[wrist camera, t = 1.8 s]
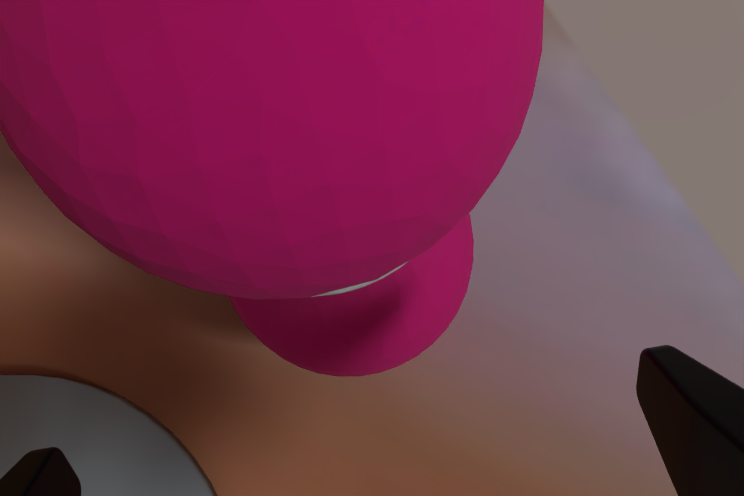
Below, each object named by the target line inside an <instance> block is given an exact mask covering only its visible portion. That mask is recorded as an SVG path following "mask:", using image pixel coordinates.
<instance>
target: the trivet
mask: <svg viewBox="0 0 744 496" xmlns="http://www.w3.org/2000/svg"><path fill="white" fill-rule="evenodd" d="M49 447H57V448H59V449H60V450H61V451H62V452H63V453H64V455H65V457H66V458H67V460H68V462H69V463H70V465H71V466H72V468H73V470H74V471H75V473H76V475H77V476H78V478H79V480H80V483H81V496H217V494H216V492H215V490H214V488H213V486H212V484H211V482H210V480H209V479H208V477H207V476H206V474H205V473H204V471H203V470H202V468H201V467H200V465H199V464H198V462H197V461H196V459H195V458H194V456H193V455H192V454H191V453H190V452H189V451H188V449H187V448H186V447H185V446H184V445H183V444H182V443H181V442H180V441H179V439H178V438H177V437H176V436H175V435H174V434H173V433H172V432H171V431H170V430H169V429H167V428H166V427H165V426H164V425H163V424H161V423H160V422H159V421H158V420H157V419H156V418H154V417H153V416H152V415H151V414H150V413H148V412H146V411H145V410H143V409H141V408H140V407H138V406H137V405H135V404H133V403H132V402H130V401H129V400H127V399H125V398H123V397H121V396H119V395H116V394H114V393H112V392H110V391H107V390H105V389H103V388H100V387H98V386H94V385H90V384H87V383H83V382H80V381H76V380H72V379H66V378H59V377H51V376H43V375H0V479H1V478H2V477H3V476H4V475H5V474H6V473H7V472H8V471H9V470H10V469H11V468H12V467H13V466H14V465H15V464H16V463H17V462H18V461H19V460H20V459H21V458H22V457H23V456H24V455H25V454H27V453H28V452H30V451H32V450H37V449H43V448H49Z"/></svg>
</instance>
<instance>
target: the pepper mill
mask: <svg viewBox="0 0 744 496" xmlns="http://www.w3.org/2000/svg"><path fill="white" fill-rule="evenodd" d="M543 6H544V0H0V130H1V132H2V134H3V136H4V137H5V139H6V141H7V143H8V145H9V147H10V148H11V150H12V151H13V152H14V154H15V155H16V156H17V158H18V159H19V160H20V162H21V163H22V164H23V166H24V167H25V168H26V170H27V171H28V172H29V174H30V175H31V176H32V178H33V179H34V180H35V181H36V183H37V184H38V185H39V187H40V188H41V189H42V190H43V192H44V193H45V194H46V195H47V196H48V197H49V198H50V199H51V201H52V202H53V203H54V204H55V205H56V206H57V207H58V208H59V210H60V211H61V212H62V213H63V214H64V215H65V216H66V217H67V218H68V219H70V220H71V221H72V222H73V223H75V224H76V225H77V226H79V227H80V228H81V229H82V230H84V231H85V232H86V233H88V234H89V235H90V236H91V237H93V238H94V239H95V240H97V241H98V242H99V243H100V244H102V245H103V246H104V247H106V248H107V249H108V250H109V251H111V252H113V253H115V254H116V255H118V256H120V257H122V258H123V259H125V260H127V261H128V262H130V263H132V264H134V265H135V266H137V267H139V268H141V269H142V270H144V271H146V272H147V273H150V274H153V275H156V276H158V277H161V278H164V279H167V280H169V281H172V282H175V283H177V284H180V285H183V286H186V287H188V288H192V289H196V290H200V291H204V292H209V293H216V294H222V295H228V296H229V297H230V299H231V302H232V304H233V306H234V308H235V310H236V312H237V313H238V315H239V316H240V318H241V319H242V321H243V322H244V324H245V325H246V327H247V328H248V329H249V330H250V331H251V332H252V333H253V334H254V335H255V336H256V337H257V338H258V339H259V340H260V341H261V342H262V343H263V344H264V345H265V346H267V347H268V348H269V349H271V350H272V351H273V352H275V353H276V354H277V355H279V356H280V357H282V358H283V359H285V360H287V361H289V362H291V363H293V364H295V365H297V366H299V367H301V368H304V369H307V370H310V371H313V372H316V373H320V374H326V375H332V376H363V375H369V374H375V373H380V372H383V371H386V370H389V369H391V368H394V367H397V366H400V365H401V364H403V363H405V362H407V361H409V360H411V359H412V358H414V357H416V356H418V355H419V354H420V353H421V352H423V351H424V350H425V349H427V348H428V347H429V346H430V345H432V344H433V343H434V342H435V341H436V340H437V339H438V337H439V336H440V335H441V334H442V333H443V332H444V331H445V330H446V329H447V327H448V326H449V324H450V323H451V321H452V320H453V318H454V317H455V315H456V314H457V312H458V310H459V308H460V305H461V303H462V301H463V299H464V296H465V294H466V292H467V288H468V284H469V279H470V274H471V270H472V264H473V243H474V240H473V233H472V226H471V220H470V215H469V212H470V211H471V210H472V209H473V208H474V207H475V205H476V204H477V203H478V201H479V200H480V198H481V197H482V196H483V194H484V193H485V192H486V190H487V189H488V187H489V186H490V185H491V183H492V182H493V180H494V179H495V178H496V176H497V175H498V174H499V172H500V170H501V168H502V166H503V164H504V163H505V161H506V159H507V157H508V155H509V153H510V152H511V150H512V148H513V146H514V144H515V142H516V141H517V139H518V137H519V135H520V132H521V129H522V126H523V123H524V120H525V117H526V114H527V111H528V108H529V105H530V102H531V99H532V96H533V91H534V87H535V82H536V77H537V72H538V67H539V62H540V57H541V52H542V36H543Z"/></svg>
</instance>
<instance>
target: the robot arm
mask: <svg viewBox="0 0 744 496" xmlns="http://www.w3.org/2000/svg"><path fill="white" fill-rule="evenodd" d="M636 391H637V397H638V400H639V403H640V406H641V408H642V411H643V413H644V415H645V418H646V420H647V423H648V425H649V428H650V430H651V432H652V435H653V437H654V440H655V442H656V445H657V447H658V449H659V452H660V454H661V457H662V459H663V461H664V464H665V466H666V469H667V471H668V474H669V476H670V478H671V481H672V483H673V485H674V487H675V490H676V492H677V494H678V496H744V389H743V388H742V387H740V386H738V385H737V384H735V383H733V382H731V381H730V380H728V379H726V378H725V377H723V376H721V375H720V374H718V373H716V372H715V371H713V370H711V369H710V368H708V367H706V366H705V365H703V364H701V363H700V362H698V361H696V360H695V359H693V358H691V357H690V356H688V355H686V354H685V353H683V352H681V351H680V350H678V349H676V348H675V347H672V346H669V345H664V346H658V347H652V348H646V349H644V350H643V351H642V352H641V355H640V360H639V368H638V376H637V385H636ZM0 496H81V483H80V480H79V478H78V476H77V475H76V473H75V471H74V470H73V468H72V466H71V465H70V463H69V462H68V460H67V458H66V457H65V455H64V453H63V452H62V451H61V450H60V449H59V448H57V447H49V448H43V449H37V450H32V451H30V452H28V453H27V454H25V455H24V456H23V457H22V458H21V459H20V460H19V461H18V462H17V463H16V464H15V465H14V466H13V467H12V468H11V469H10V470H9V471H8V472H7V473H6V474H5V475H4V476H3V477H2V478H1V479H0Z"/></svg>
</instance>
